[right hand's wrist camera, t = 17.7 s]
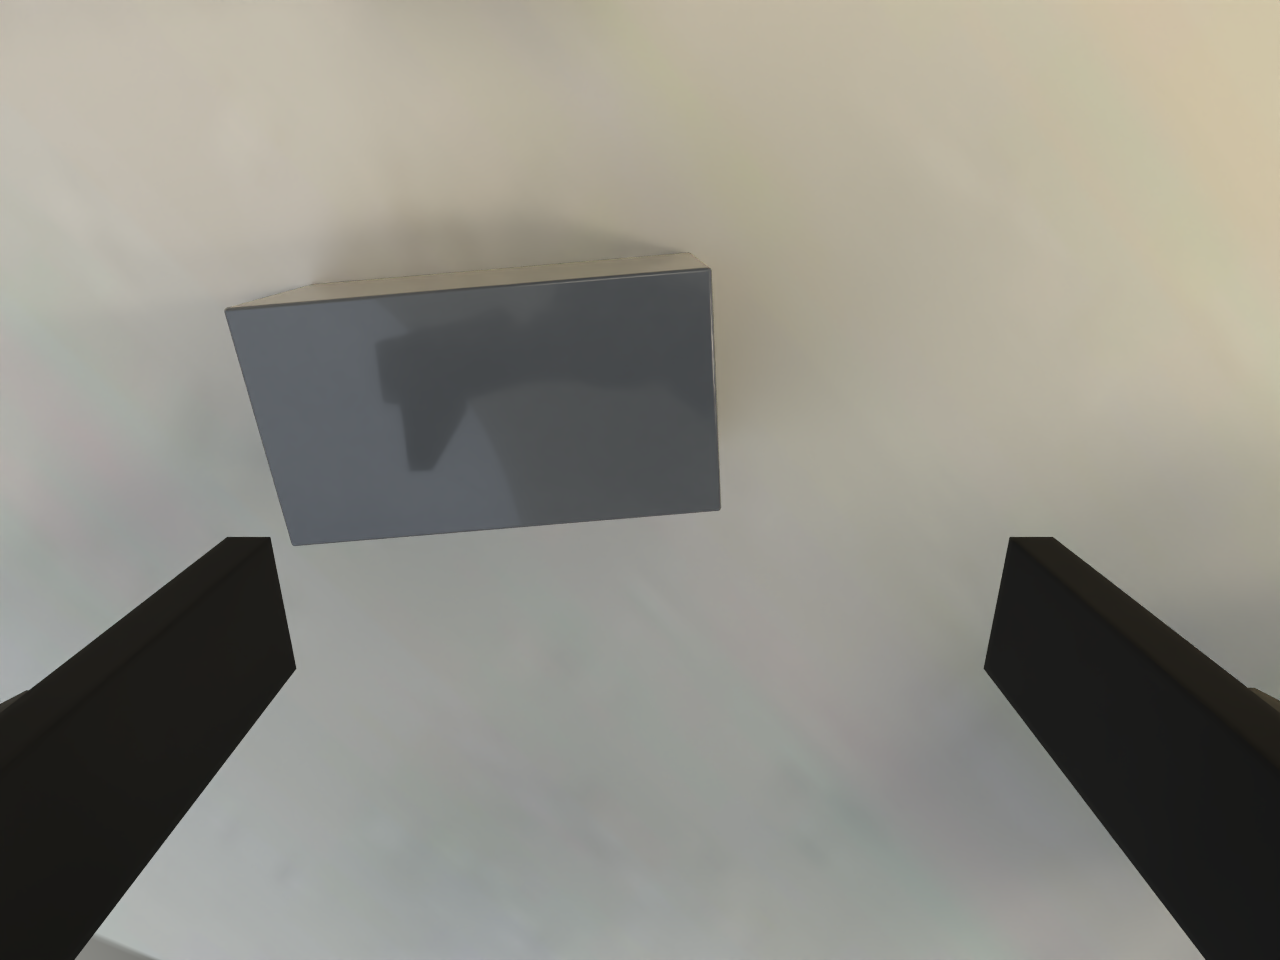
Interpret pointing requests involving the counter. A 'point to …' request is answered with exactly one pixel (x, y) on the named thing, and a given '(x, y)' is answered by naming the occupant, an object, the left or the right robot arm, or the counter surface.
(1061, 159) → the counter surface
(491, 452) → the grey block
